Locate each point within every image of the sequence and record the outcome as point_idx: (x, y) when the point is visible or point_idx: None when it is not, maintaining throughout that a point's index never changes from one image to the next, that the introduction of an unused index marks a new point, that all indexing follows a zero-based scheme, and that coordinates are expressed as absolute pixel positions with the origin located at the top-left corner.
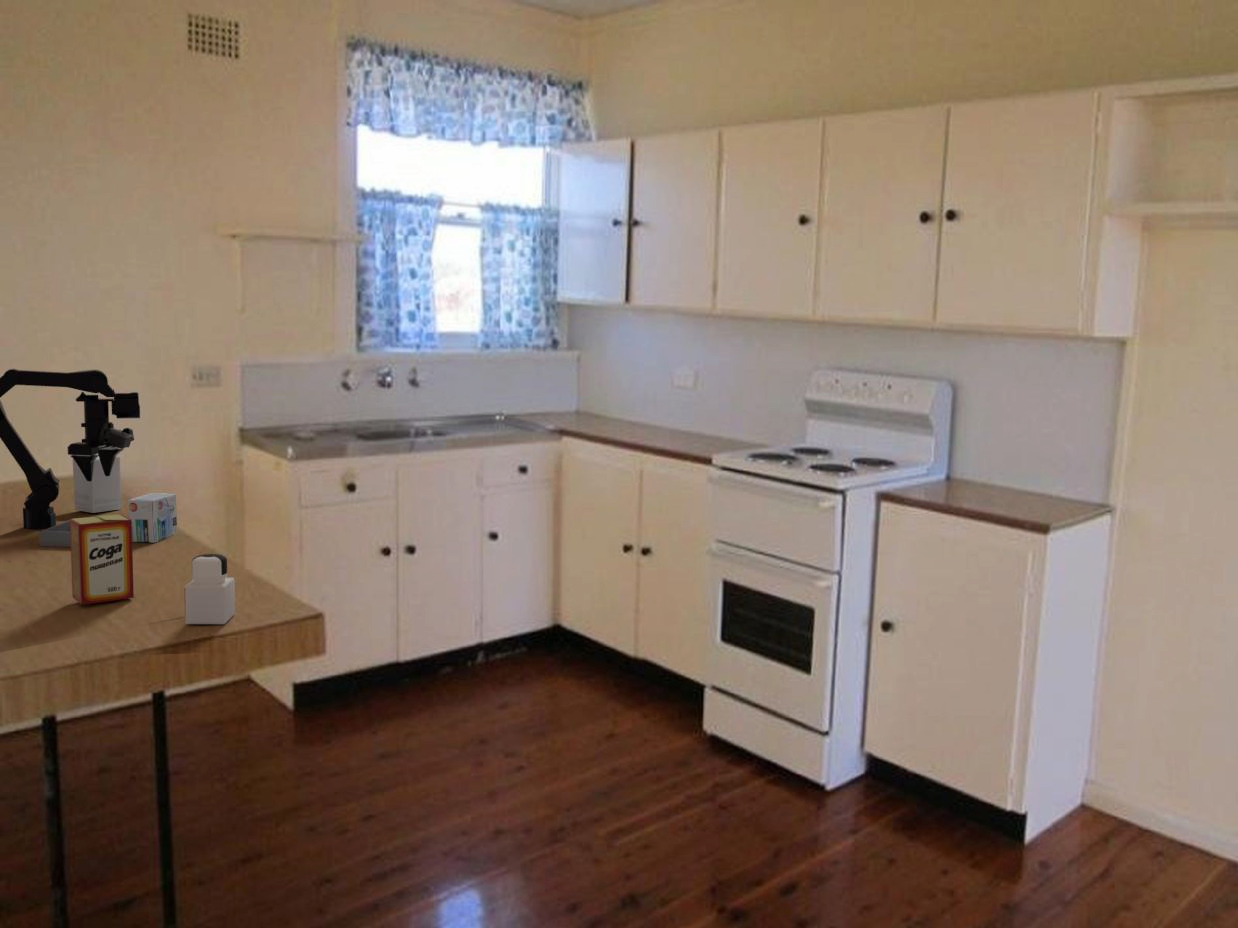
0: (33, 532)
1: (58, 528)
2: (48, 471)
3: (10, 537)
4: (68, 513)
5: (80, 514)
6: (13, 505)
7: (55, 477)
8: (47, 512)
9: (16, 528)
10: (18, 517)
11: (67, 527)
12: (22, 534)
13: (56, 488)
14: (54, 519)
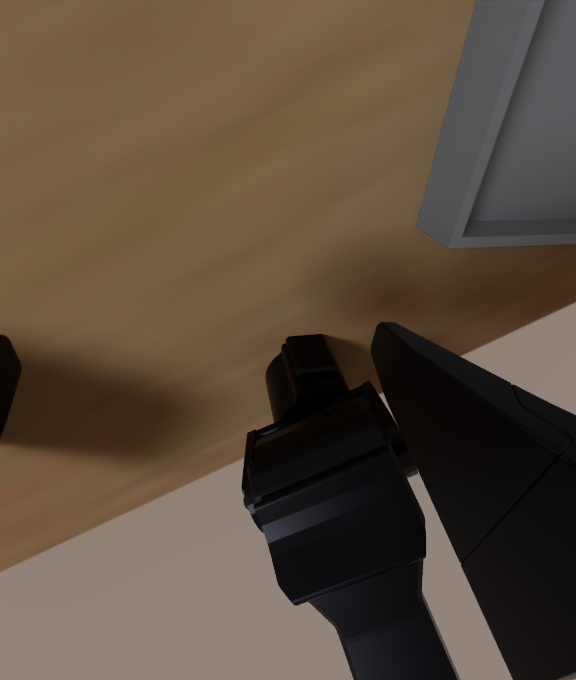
0: None
1: (561, 229)
2: (424, 554)
3: None
4: (37, 419)
5: (30, 380)
6: (11, 561)
7: (273, 530)
8: (343, 379)
9: None
10: (168, 479)
11: (488, 227)
12: None
13: (386, 435)
14: (303, 353)
